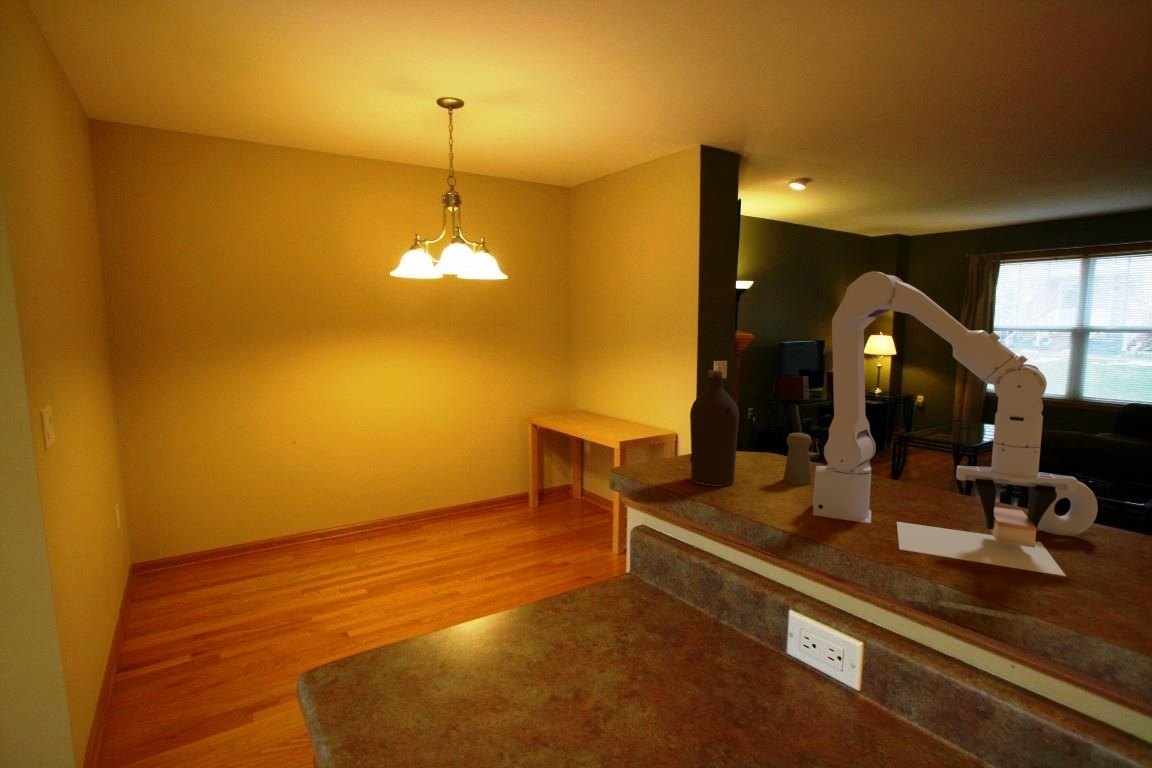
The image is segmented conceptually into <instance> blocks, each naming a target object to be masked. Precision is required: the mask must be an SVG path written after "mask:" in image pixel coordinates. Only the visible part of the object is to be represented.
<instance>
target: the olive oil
mask: <svg viewBox="0 0 1152 768" xmlns="http://www.w3.org/2000/svg"><path fill="white" fill-rule="evenodd" d="M723 373H724V371H723V370H708V371H707V375H708V376H707V385H706V386H707V387H706V388H705V390H704V391H703V392H701V394H699V396H698V397H697V398H696V399H694V401H693V403H692V406H691V408H690V412H689V420H690V423H689V425H690V426H689V427H690V428H689V429H690V455H691V456H690V458H689V459H690V463H691V465H690V466H691V473H690V474H691V481H692V480H694V481H696V482H699V483H704V484H710V485H727V484H731V483H733V482H734V483H735V472H736V459H737V447H738V446H737V445H738V444H737V442H738V431H739V421H740V412H739V407H738V406H737V403H736V402H735V400H733V398H732V397H731V396H730V395H729V394H728V392H726V390H725V389H724V387H723V386H724V376H723ZM734 483H733V484H734ZM731 485H732V484H731Z"/></svg>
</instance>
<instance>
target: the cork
mask: <svg viewBox="0 0 1152 768" xmlns="http://www.w3.org/2000/svg"><path fill="white" fill-rule="evenodd" d="M786 444H787V446H788V452H787V458H786V463H785V469H784V473H783V479H782V481H783V480H784V481H783V482H784V483H787V484H790V485H797V486H806V485H807V486H808V485H811V484H812V481H813V480H812V470H811V462H810V460H811V459H810V450H809V449H810V447H811V446H812V437H811V435H809V434H807V433H804V432H792V433H789V434H788V436H787V438H786Z"/></svg>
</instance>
